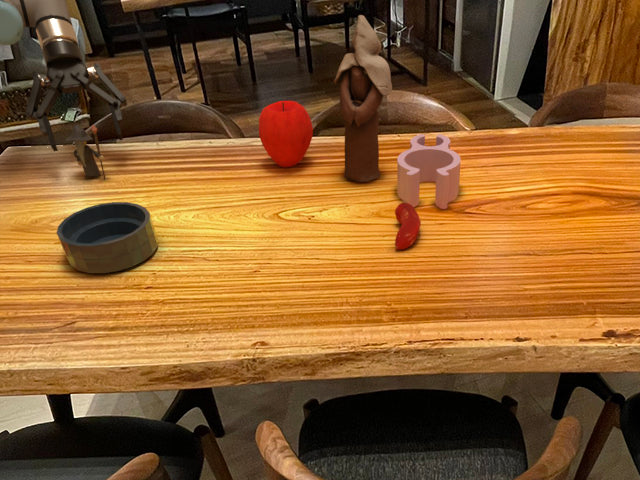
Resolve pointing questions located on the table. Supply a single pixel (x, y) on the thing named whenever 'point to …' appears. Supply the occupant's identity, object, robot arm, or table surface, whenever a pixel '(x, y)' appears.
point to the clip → (428, 170)
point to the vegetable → (406, 225)
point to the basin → (108, 237)
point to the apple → (285, 132)
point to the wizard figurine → (86, 151)
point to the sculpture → (362, 102)
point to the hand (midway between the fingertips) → (87, 142)
